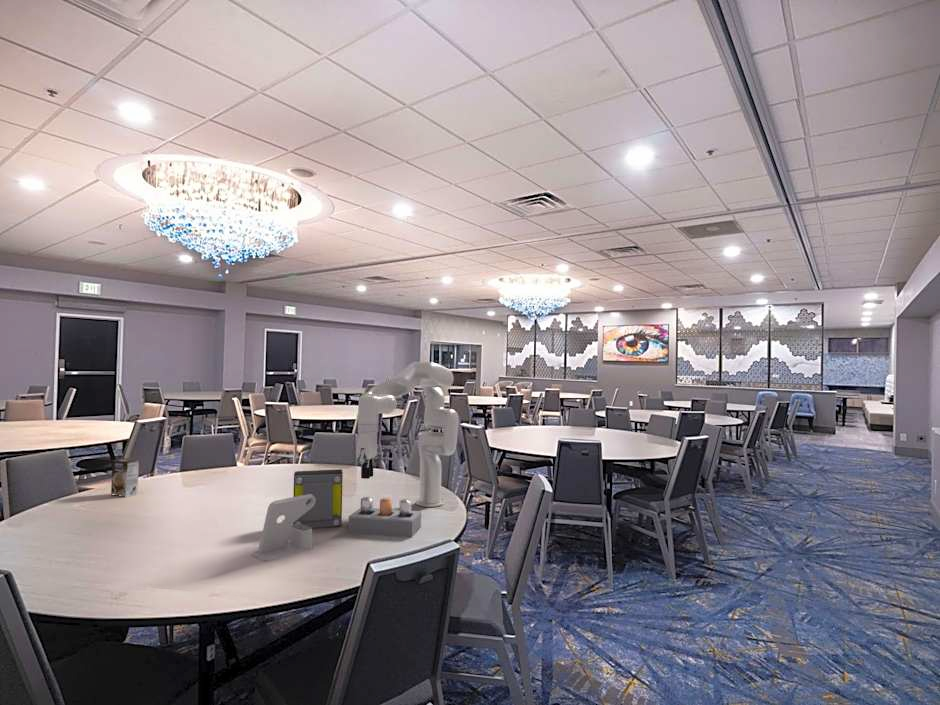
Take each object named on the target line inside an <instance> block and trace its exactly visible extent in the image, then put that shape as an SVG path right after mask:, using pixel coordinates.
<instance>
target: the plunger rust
mask: <svg viewBox="0 0 940 705" xmlns="http://www.w3.org/2000/svg"><path fill="white" fill-rule="evenodd" d="M392 507H393V499H391V498H389V497H384V498H381V499H380V500H379V509H380V515H391V514H392V510H393V509H392Z"/></svg>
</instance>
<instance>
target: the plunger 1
mask: <svg viewBox="0 0 940 705" xmlns="http://www.w3.org/2000/svg"><path fill="white" fill-rule="evenodd" d="M373 499H374V498H373V497H371V496H364V497H362V498H360V508H361V514H370V513H372V511H373V508H374V506H373V504H374V503H373V502H374V500H373Z"/></svg>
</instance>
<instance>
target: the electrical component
mask: <svg viewBox="0 0 940 705" xmlns="http://www.w3.org/2000/svg"><path fill="white" fill-rule="evenodd" d="M307 494H312V495H313V496H314V497H315V498H316V501H315V505H314V506H313V507H312V508H311V509H310V510H309V511H307V512H306V513H305V514H304V515H302V516H301V517H300V518H299V519H297V520H296V521H295V522H294V523H293V524H302V525H305V526H307V527H310V528H312V529H313V528H314V529H315V528H318V529H319V528H330V527H331V528H332V527H341V526H342V518H343V515H342V514H343V513H342V512H343V469H340V468H339V469H322V470H321V469H319V470H301V471H300V470H298V471H294V474H293V497H297V496H302V495H307ZM311 500H312V498H311V499H308V500H307V502H306V505H307V504H309V503H310V502H311ZM293 524H292V525H293Z"/></svg>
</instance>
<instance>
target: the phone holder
mask: <svg viewBox="0 0 940 705" xmlns="http://www.w3.org/2000/svg"><path fill="white" fill-rule="evenodd" d="M311 498H312V500H311V502H310V503H309V504H307V505H306V502H307V500H308V499H311ZM315 501H316V498H315V497H314V496H313V495H312V494H307V495H302V496H297V497H287V498H283V499H279V500H277V499H276V500H274V501H272V502H271V503H269V505H268V506H267V511H266V515H265V520H264V524H263V528H262V533H261V537H260V542H259V545H258V549H257V550H254V551H252V553H251V554H252V557H255V558H256V559H259V560H260V561H263V562H272V561H275V560H278V559H282V558H286V557H288V556H289V557H290V556H293V555H296V554H298V553H299V554H300V553H302V552H306V551H310V550H312V549H313V548H314V545H313V528H310V527H307V526H305V525H302V524H293V523H294V522H295V521H296V520H297V519H299V518H300V517H301V516H302V515H304V514H305V513H306V512H307V511H309V510H310V509H311V508H312V507H313V506H314V505H315ZM281 516H284V519H283V520H282V521H281V522H278V519H279V518H280V517H281Z"/></svg>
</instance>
